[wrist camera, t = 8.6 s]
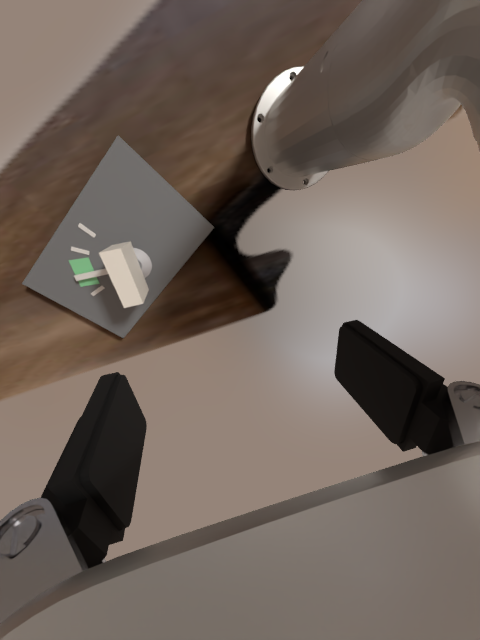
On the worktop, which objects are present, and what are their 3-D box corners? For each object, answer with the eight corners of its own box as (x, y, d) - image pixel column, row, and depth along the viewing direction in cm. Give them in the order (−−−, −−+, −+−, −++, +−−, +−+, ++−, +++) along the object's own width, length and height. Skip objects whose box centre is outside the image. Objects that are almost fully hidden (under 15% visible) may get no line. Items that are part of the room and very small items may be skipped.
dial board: (122, 139, 27) (117, 135, 25) (212, 226, 33) (214, 227, 31) (30, 279, 31) (21, 283, 30) (126, 332, 38) (123, 338, 36)
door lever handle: (63, 253, 29) (32, 266, 23) (133, 239, 30) (120, 248, 24) (88, 299, 32) (66, 321, 26) (150, 285, 33) (143, 303, 27)
